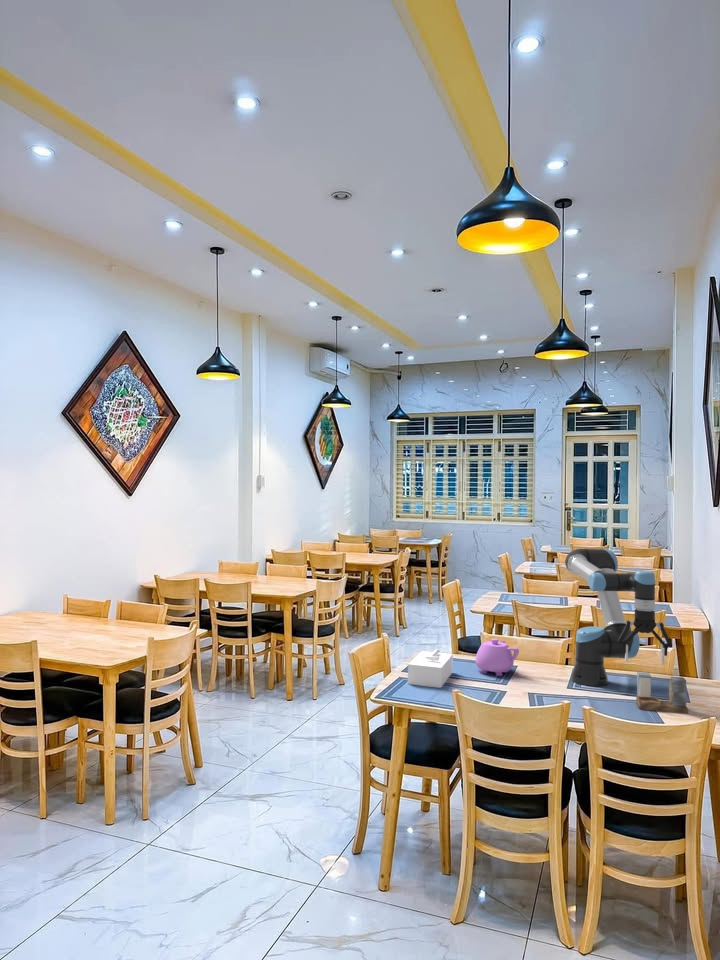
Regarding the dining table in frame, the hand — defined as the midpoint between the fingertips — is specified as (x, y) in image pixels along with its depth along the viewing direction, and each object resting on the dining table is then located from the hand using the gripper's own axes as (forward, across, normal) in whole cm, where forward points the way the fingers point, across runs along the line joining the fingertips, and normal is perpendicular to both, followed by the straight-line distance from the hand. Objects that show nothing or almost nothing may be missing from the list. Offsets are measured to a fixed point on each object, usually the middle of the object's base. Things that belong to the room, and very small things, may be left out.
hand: (644, 662), depth 262 cm
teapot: (+14, -58, +24) cm, 64 cm away
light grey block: (+15, 0, 0) cm, 15 cm away
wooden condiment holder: (+15, +4, -10) cm, 19 cm away
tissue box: (+15, -87, +3) cm, 88 cm away
